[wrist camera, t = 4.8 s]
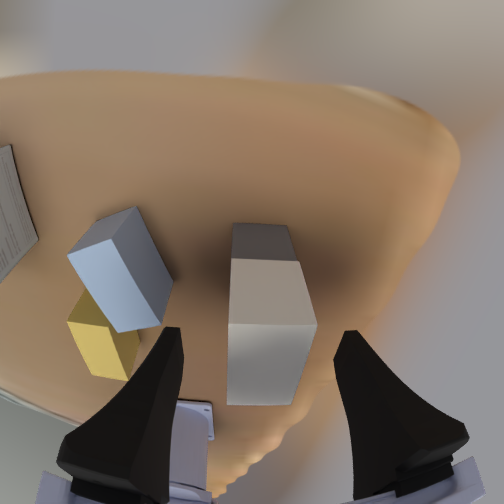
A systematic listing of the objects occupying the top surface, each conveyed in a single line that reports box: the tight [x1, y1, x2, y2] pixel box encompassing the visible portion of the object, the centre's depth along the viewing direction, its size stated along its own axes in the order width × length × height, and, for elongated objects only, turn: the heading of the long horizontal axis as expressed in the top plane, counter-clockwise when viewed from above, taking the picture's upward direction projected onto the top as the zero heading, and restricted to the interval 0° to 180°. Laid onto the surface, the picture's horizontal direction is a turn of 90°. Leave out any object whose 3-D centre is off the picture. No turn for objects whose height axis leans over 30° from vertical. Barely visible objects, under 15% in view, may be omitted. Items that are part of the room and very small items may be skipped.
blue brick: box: [67, 206, 173, 333], centre depth 16 cm, size 6×3×4 cm, turn 16°
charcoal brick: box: [229, 223, 297, 300], centre depth 16 cm, size 6×3×4 cm, turn 176°
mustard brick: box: [67, 288, 140, 381], centre depth 18 cm, size 6×3×4 cm, turn 176°
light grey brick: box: [227, 258, 318, 405], centre depth 13 cm, size 6×3×4 cm, turn 176°
